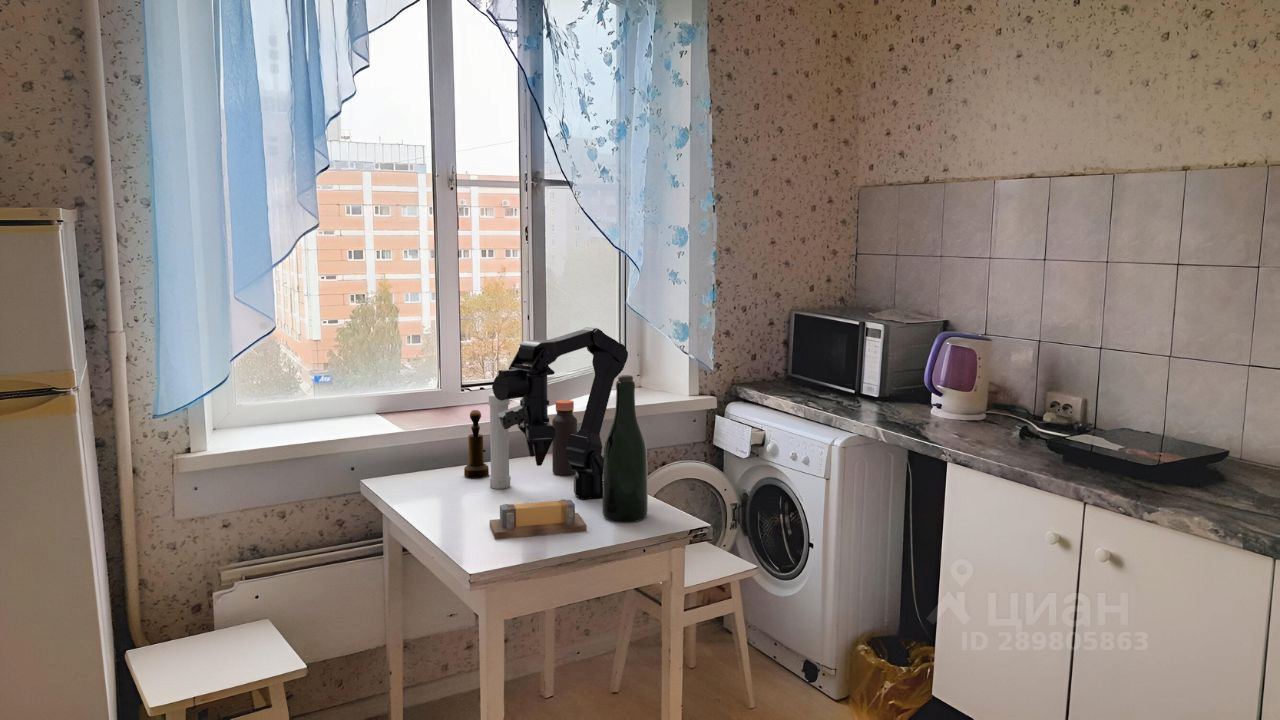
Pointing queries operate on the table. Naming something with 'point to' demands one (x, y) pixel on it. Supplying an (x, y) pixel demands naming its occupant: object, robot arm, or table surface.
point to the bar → (536, 513)
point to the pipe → (499, 445)
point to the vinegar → (563, 436)
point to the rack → (537, 527)
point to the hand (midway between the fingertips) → (535, 460)
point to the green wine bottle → (625, 460)
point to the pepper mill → (476, 450)
